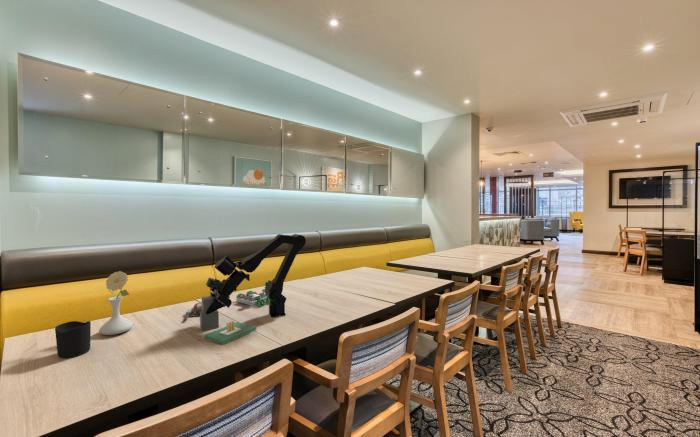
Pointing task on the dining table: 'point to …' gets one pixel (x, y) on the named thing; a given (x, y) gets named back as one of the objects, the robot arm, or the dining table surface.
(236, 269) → the robot arm
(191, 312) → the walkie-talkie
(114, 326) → the flower in vase
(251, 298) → the robot kit
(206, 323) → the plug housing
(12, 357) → the dining table surface
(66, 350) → the pen holder
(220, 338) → the board
